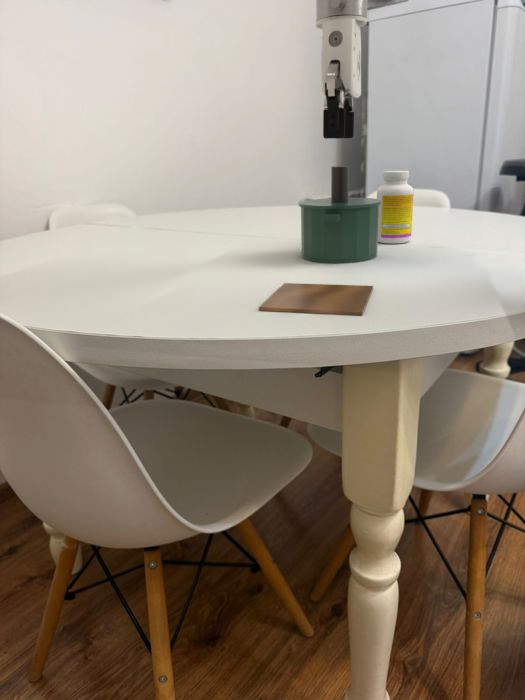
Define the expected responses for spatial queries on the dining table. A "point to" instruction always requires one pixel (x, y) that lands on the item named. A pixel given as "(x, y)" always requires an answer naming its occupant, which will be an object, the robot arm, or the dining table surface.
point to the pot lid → (340, 194)
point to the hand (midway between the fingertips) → (339, 138)
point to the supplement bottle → (395, 208)
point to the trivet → (319, 299)
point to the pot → (339, 234)
